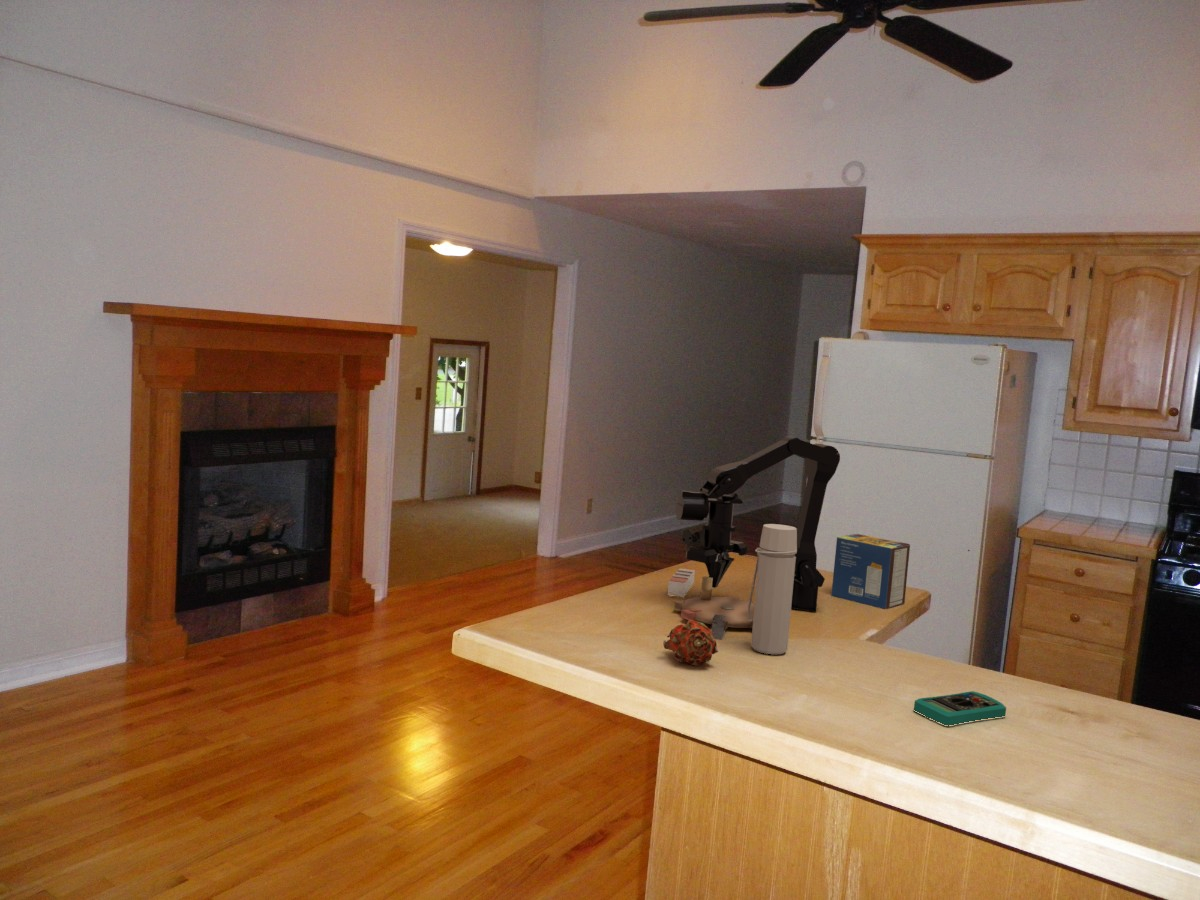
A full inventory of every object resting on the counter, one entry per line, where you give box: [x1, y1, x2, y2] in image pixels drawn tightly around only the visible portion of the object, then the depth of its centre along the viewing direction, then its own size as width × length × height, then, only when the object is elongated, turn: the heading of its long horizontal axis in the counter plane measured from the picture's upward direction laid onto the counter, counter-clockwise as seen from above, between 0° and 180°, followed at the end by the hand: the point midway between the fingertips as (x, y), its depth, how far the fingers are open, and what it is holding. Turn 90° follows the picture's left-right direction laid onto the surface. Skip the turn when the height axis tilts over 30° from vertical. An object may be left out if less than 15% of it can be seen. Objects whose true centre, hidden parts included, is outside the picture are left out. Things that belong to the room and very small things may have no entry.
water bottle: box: [748, 523, 797, 656], centre depth 179 cm, size 9×8×25 cm
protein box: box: [830, 533, 911, 610], centre depth 229 cm, size 10×15×16 cm
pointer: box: [710, 614, 726, 640], centre depth 187 cm, size 2×5×4 cm, turn 165°
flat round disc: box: [674, 576, 755, 630], centre depth 201 cm, size 23×23×6 cm
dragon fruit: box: [663, 620, 719, 667], centre depth 169 cm, size 8×8×12 cm
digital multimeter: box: [913, 690, 1007, 726], centre depth 151 cm, size 7×15×3 cm, turn 117°
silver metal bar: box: [667, 568, 696, 598], centre depth 226 cm, size 4×16×4 cm, turn 165°
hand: (714, 587), depth 211 cm, fingers closed
